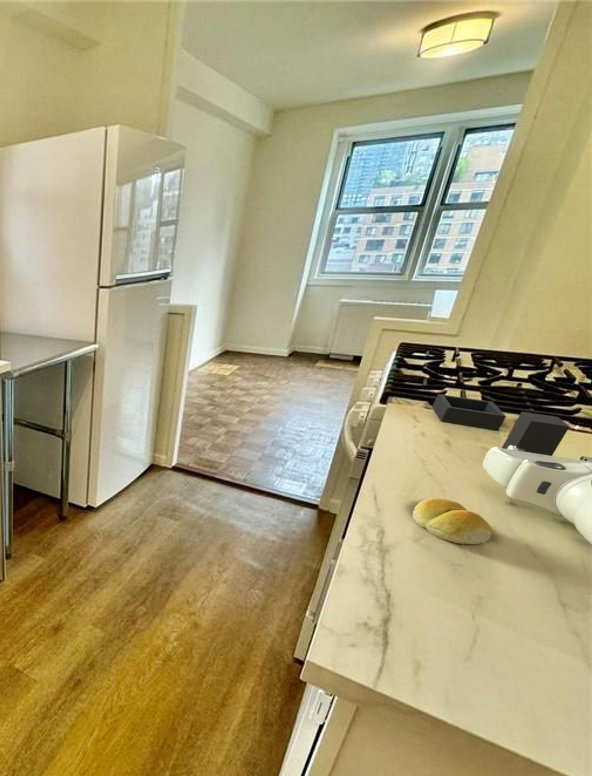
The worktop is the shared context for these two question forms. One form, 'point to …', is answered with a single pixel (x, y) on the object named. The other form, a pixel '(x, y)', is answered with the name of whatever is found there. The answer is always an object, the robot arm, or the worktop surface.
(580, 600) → the worktop surface
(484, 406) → the black open rectangular box
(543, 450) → the dark grey block
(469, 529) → the bread roll
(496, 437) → the worktop surface
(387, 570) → the worktop surface
